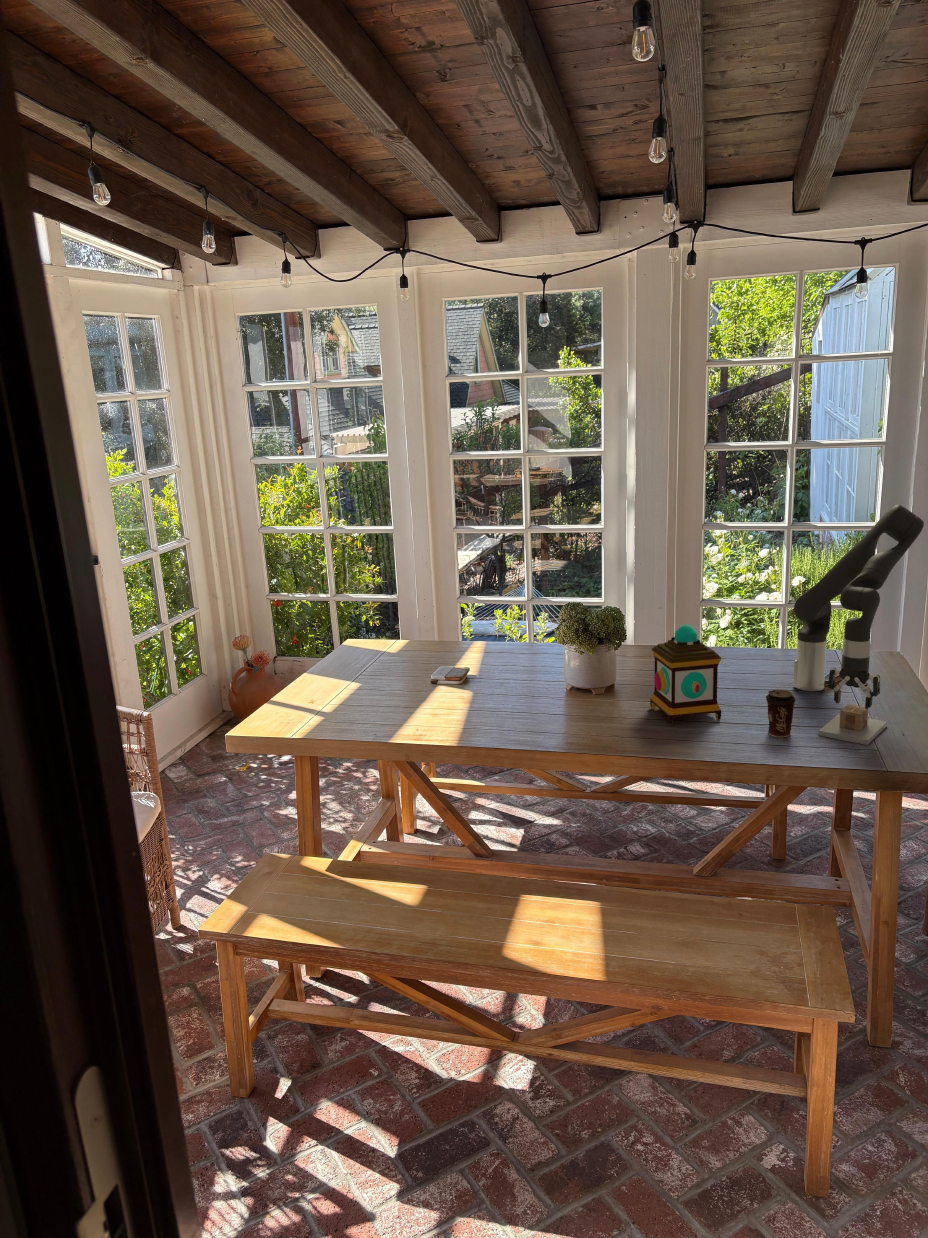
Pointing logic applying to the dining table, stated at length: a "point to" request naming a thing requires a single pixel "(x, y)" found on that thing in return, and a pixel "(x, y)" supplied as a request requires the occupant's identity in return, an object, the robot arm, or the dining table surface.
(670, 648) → the decorative lantern
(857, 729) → the cardboard box
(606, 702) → the dining table surface
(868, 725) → the base plate
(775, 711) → the coffee cup
